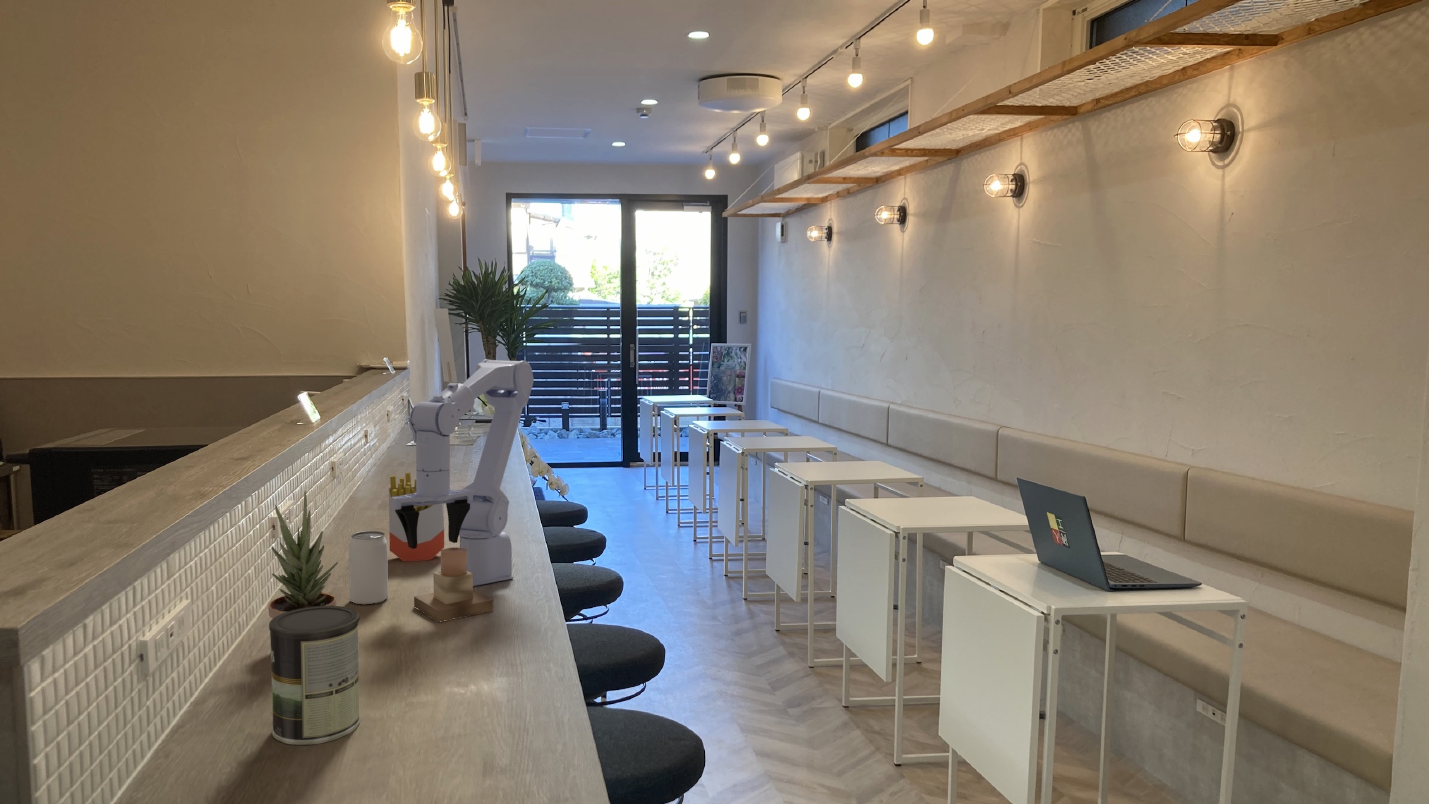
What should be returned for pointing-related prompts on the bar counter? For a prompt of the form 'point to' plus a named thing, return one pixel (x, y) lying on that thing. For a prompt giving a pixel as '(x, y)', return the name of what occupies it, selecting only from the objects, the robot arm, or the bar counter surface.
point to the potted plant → (300, 570)
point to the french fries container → (427, 528)
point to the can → (368, 567)
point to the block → (453, 587)
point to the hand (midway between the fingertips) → (433, 544)
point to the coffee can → (314, 674)
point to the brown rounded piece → (453, 562)
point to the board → (453, 606)
